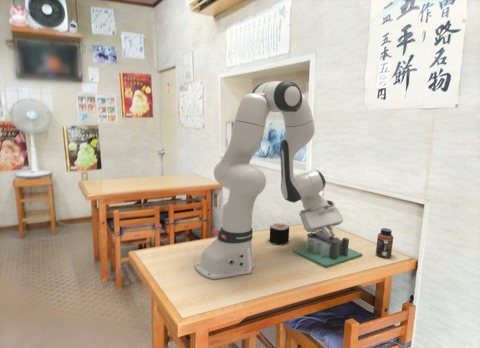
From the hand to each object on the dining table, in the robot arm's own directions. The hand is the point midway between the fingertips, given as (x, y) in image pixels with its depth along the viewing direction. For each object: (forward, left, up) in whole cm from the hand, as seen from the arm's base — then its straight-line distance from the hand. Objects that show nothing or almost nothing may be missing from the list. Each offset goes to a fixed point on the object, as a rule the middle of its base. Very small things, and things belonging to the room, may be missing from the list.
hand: (331, 236), depth 140 cm
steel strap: (0, +2, -2) cm, 3 cm away
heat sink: (0, +3, -7) cm, 7 cm away
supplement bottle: (+19, -12, -8) cm, 24 cm away
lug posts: (0, -5, -8) cm, 9 cm away
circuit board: (0, +1, -8) cm, 8 cm away
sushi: (-9, +22, -8) cm, 25 cm away
